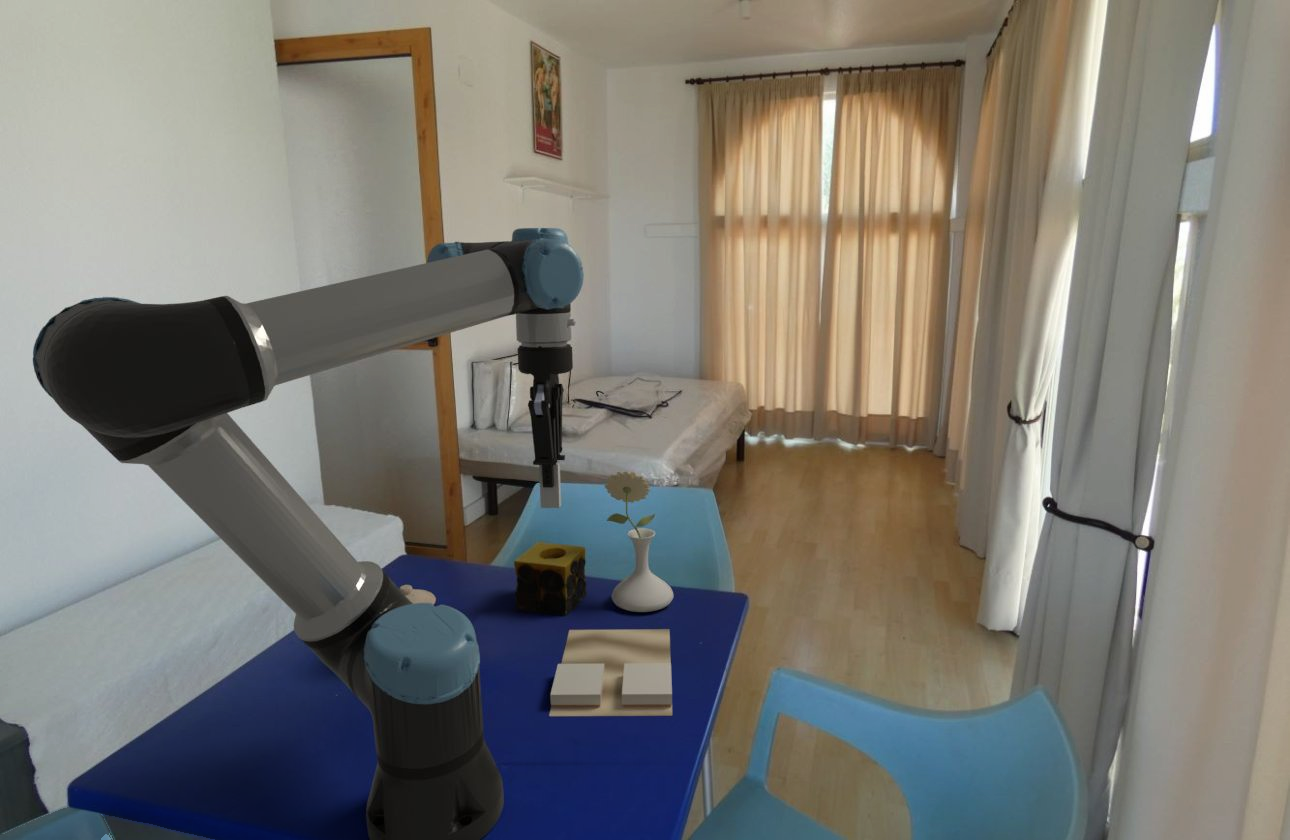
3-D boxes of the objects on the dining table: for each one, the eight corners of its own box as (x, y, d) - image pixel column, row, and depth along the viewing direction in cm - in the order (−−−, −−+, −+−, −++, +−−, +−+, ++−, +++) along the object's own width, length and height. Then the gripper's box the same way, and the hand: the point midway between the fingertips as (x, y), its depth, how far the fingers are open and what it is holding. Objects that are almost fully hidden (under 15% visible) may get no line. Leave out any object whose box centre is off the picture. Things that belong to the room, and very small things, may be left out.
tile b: (671, 675, 110) (672, 706, 103) (624, 675, 110) (622, 707, 103) (670, 663, 110) (672, 694, 102) (624, 663, 110) (621, 694, 102)
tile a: (604, 675, 111) (600, 707, 103) (558, 675, 111) (551, 707, 103) (604, 663, 110) (600, 694, 102) (557, 663, 110) (550, 694, 102)
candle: (514, 613, 132) (511, 561, 130) (538, 589, 141) (535, 540, 139) (567, 620, 129) (564, 567, 127) (587, 595, 139) (586, 545, 136)
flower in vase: (683, 597, 137) (683, 468, 132) (656, 624, 127) (654, 486, 122) (623, 584, 143) (620, 460, 138) (592, 608, 133) (587, 476, 128)
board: (672, 719, 101) (672, 715, 101) (549, 720, 101) (549, 716, 101) (669, 632, 124) (669, 629, 124) (569, 633, 124) (569, 629, 124)
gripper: (563, 348, 95) (569, 522, 100) (579, 338, 107) (583, 492, 112) (506, 349, 95) (514, 521, 100) (528, 338, 108) (535, 492, 113)
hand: (551, 506), depth 106 cm, fingers closed
